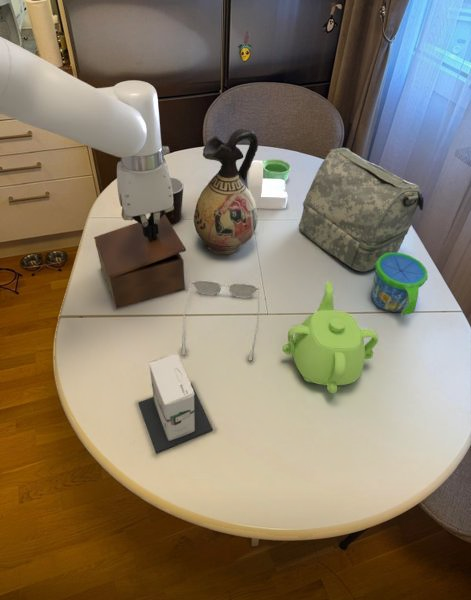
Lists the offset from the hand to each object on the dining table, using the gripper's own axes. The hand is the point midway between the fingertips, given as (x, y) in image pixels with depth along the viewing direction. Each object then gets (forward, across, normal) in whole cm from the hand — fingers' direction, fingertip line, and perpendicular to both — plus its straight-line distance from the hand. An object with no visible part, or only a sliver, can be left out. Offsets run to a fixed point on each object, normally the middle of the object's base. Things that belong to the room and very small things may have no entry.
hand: (151, 237), depth 90 cm
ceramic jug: (+12, -21, -5) cm, 24 cm away
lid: (+1, +3, 0) cm, 3 cm away
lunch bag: (+12, -51, +6) cm, 53 cm away
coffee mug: (+12, -10, -20) cm, 25 cm away
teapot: (+12, -23, +36) cm, 44 cm away
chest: (+11, +3, 0) cm, 12 cm away
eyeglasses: (+12, -8, +20) cm, 24 cm away
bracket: (+12, -37, -22) cm, 44 cm away
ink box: (+11, +8, +36) cm, 39 cm away
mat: (+11, +8, +36) cm, 39 cm away
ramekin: (+12, -49, -30) cm, 58 cm away
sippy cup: (+12, -46, +28) cm, 55 cm away
